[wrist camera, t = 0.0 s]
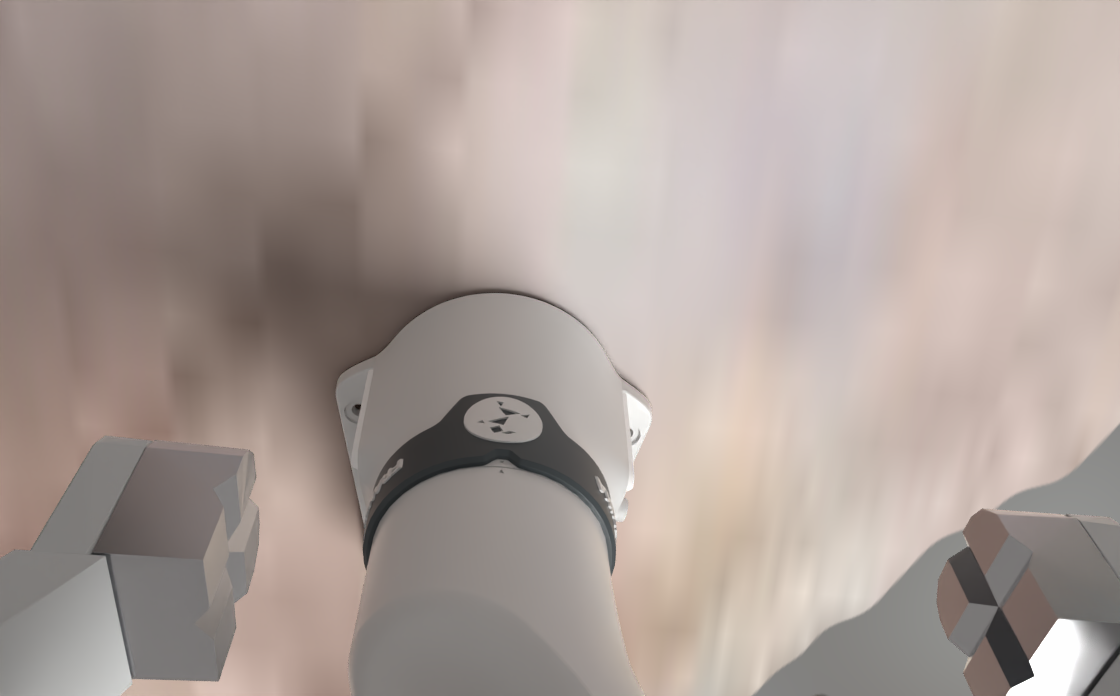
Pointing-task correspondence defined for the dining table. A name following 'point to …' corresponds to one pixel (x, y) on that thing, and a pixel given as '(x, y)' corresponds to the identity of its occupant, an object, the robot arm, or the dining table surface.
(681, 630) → the dining table surface
